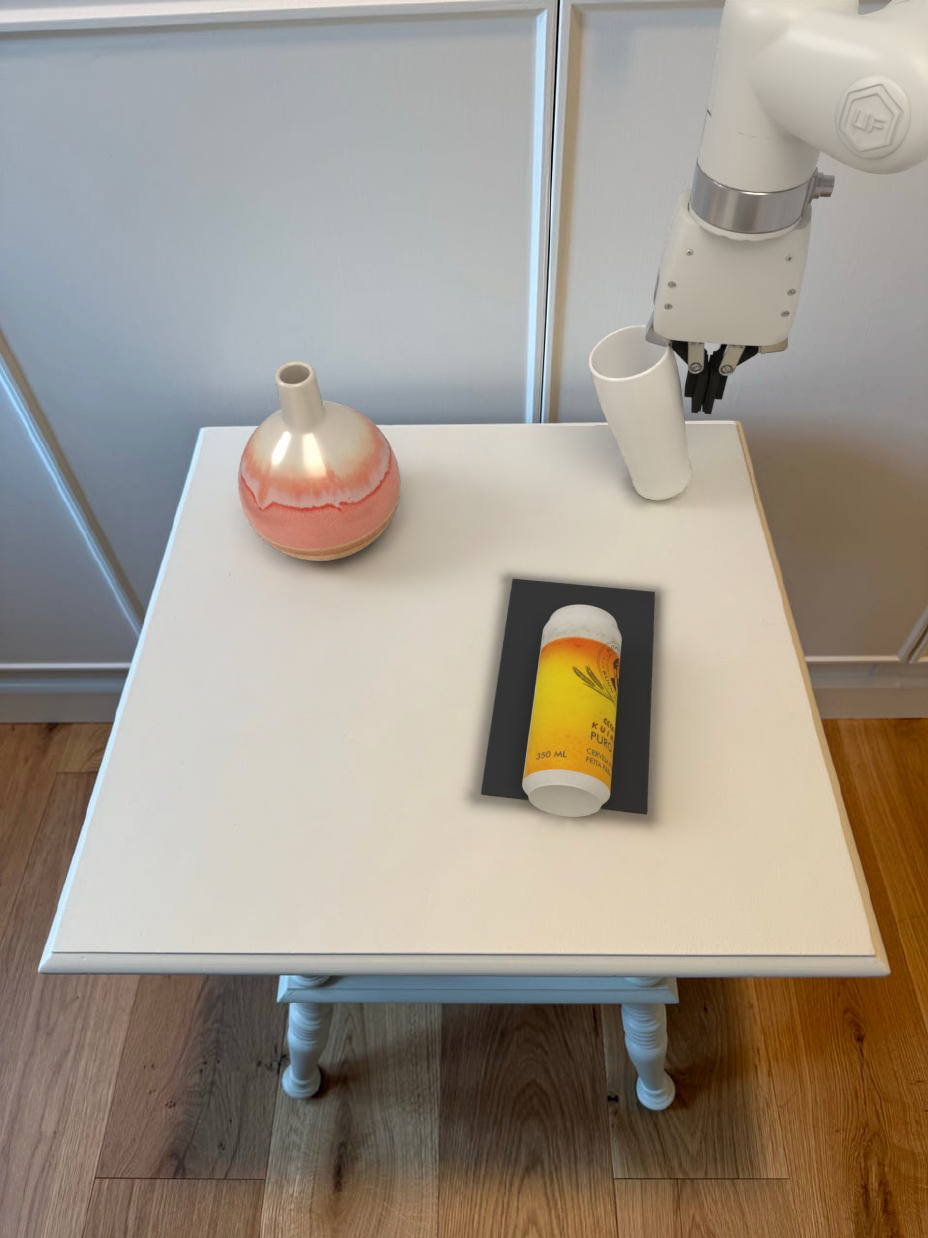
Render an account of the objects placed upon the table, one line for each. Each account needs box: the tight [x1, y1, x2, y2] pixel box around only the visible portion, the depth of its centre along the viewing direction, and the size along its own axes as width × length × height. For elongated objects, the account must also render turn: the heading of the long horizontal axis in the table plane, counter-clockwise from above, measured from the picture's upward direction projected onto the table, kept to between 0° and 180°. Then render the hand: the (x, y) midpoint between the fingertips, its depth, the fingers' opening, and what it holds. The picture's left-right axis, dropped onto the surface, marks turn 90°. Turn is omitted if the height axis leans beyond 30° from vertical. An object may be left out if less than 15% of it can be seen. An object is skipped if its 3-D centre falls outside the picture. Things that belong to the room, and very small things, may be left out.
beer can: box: [522, 605, 622, 818], centre depth 68 cm, size 6×6×15 cm
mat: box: [480, 578, 656, 815], centre depth 72 cm, size 12×20×1 cm, turn 172°
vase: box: [237, 360, 402, 562], centre depth 76 cm, size 14×14×18 cm
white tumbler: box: [588, 324, 693, 501], centre depth 78 cm, size 7×7×15 cm
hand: (701, 401), depth 76 cm, fingers closed
